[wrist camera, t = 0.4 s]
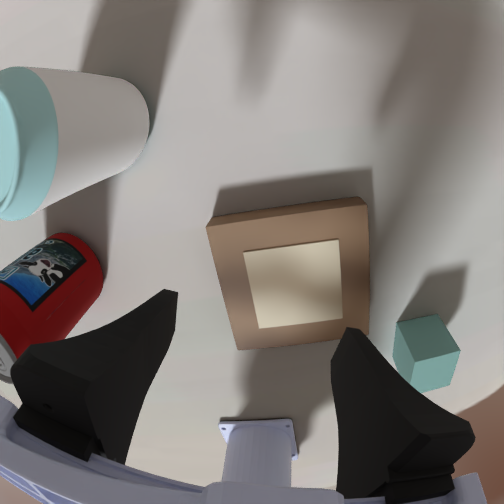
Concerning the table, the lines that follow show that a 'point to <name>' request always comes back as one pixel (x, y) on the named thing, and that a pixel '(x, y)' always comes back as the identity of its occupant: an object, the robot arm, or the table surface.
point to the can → (63, 134)
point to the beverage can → (45, 295)
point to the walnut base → (294, 272)
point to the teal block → (425, 353)
